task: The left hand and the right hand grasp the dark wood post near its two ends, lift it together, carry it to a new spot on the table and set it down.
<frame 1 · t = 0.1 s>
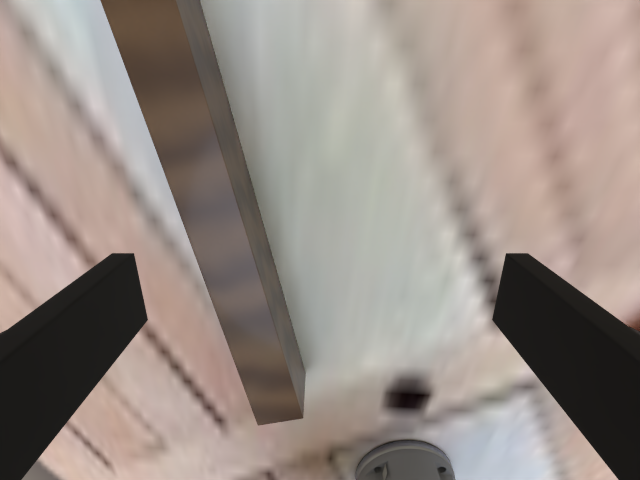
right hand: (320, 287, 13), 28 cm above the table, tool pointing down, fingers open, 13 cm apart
post: (229, 192, 40), on the table
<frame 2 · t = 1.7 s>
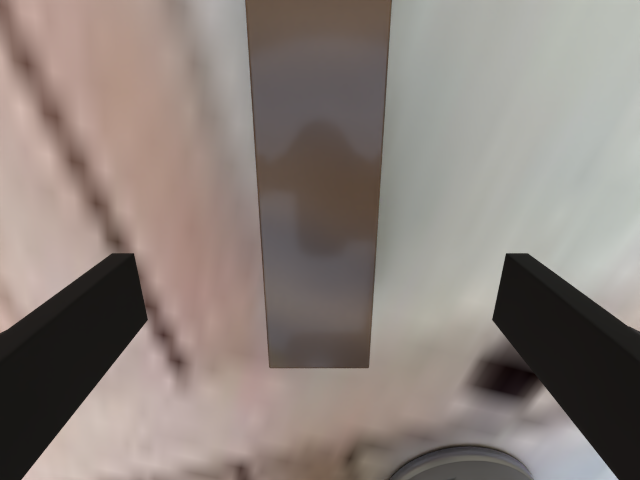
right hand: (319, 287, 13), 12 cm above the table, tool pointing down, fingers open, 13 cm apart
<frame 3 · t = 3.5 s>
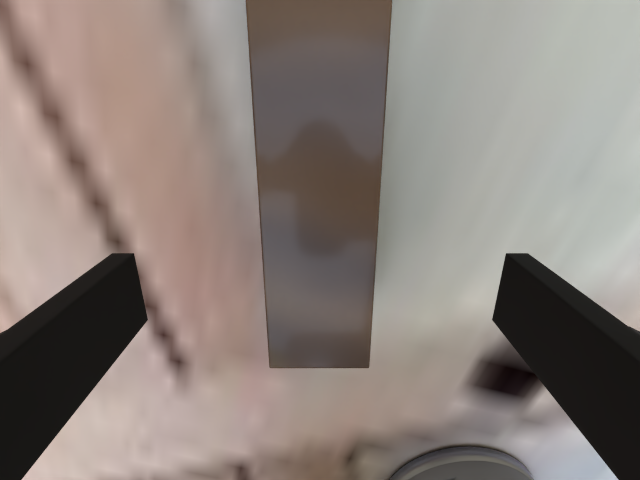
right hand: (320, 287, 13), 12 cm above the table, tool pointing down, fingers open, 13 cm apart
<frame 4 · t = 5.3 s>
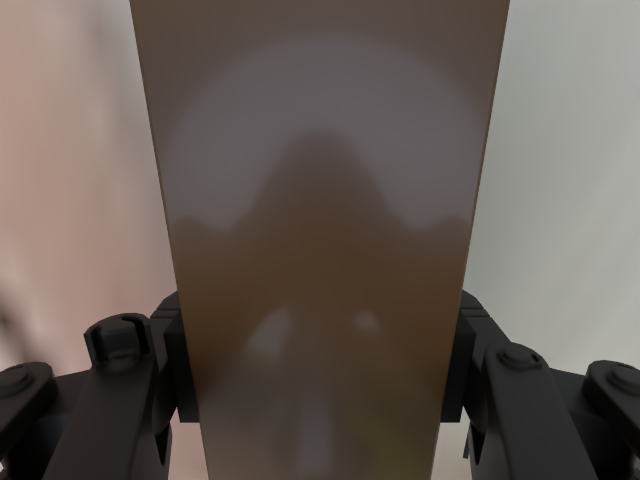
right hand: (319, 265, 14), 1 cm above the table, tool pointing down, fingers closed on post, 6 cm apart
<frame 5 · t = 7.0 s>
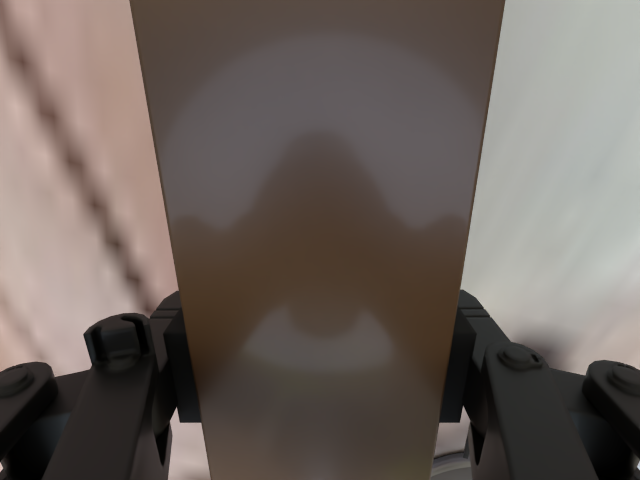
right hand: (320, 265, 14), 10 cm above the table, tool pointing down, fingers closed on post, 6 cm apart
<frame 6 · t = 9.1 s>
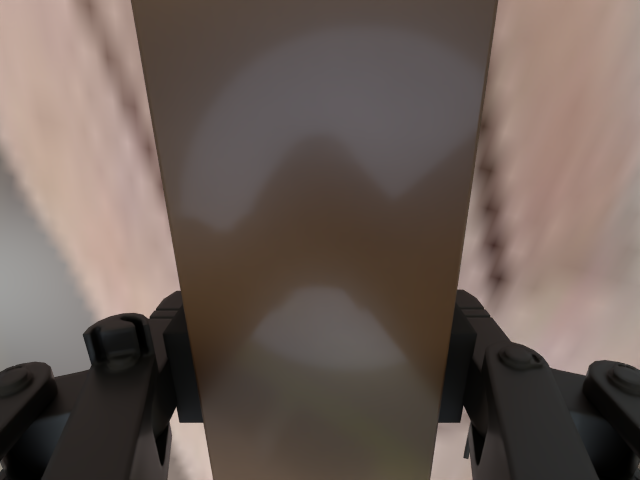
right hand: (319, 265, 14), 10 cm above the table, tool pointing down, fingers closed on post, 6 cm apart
when the right hand's fingers open (2 cm above the table, at t = 10.7 s): post drops 1 cm, on the table.
when the left hand's fingers open (4 cm above the table, at t = 10.9 s): post stays where it is, on the table.
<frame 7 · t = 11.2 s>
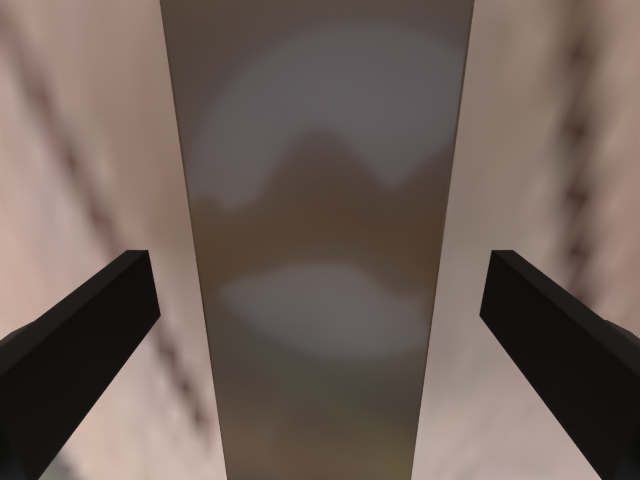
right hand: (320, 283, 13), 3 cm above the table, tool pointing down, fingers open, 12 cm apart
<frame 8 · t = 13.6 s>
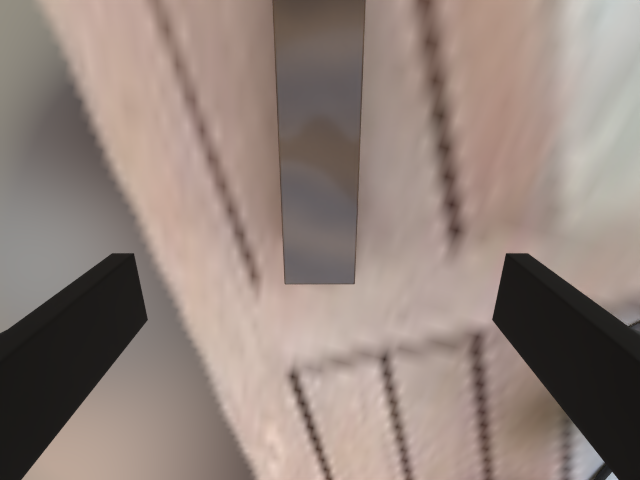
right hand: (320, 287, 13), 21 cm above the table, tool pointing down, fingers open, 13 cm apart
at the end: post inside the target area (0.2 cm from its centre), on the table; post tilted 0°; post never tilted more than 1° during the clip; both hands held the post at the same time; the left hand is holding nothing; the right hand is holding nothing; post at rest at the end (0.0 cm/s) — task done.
